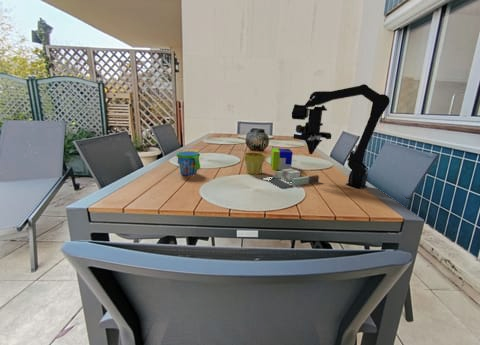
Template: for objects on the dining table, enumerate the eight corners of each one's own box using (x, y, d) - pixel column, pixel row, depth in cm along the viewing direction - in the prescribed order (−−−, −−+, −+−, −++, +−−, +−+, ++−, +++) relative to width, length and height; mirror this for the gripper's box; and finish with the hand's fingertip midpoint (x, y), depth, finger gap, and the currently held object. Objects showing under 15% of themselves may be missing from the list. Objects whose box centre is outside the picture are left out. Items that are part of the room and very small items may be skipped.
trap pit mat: (293, 187, 106) (293, 186, 106) (282, 188, 103) (282, 187, 103) (271, 177, 119) (271, 176, 119) (261, 178, 116) (261, 177, 116)
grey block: (299, 182, 113) (300, 171, 112) (289, 183, 111) (290, 172, 109) (290, 178, 118) (291, 168, 117) (280, 179, 116) (281, 169, 114)
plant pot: (262, 176, 120) (263, 156, 117) (241, 174, 122) (242, 155, 119) (264, 171, 130) (266, 152, 127) (245, 169, 132) (246, 151, 129)
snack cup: (171, 171, 122) (170, 151, 120) (190, 168, 129) (190, 149, 126) (186, 179, 111) (185, 157, 108) (206, 175, 117) (206, 154, 114)
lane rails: (318, 181, 114) (319, 175, 113) (293, 185, 107) (293, 179, 106) (298, 174, 125) (299, 168, 125) (274, 177, 118) (275, 171, 118)
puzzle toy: (290, 170, 134) (292, 152, 131) (272, 169, 134) (273, 151, 131) (287, 166, 143) (289, 149, 141) (270, 165, 143) (271, 148, 141)
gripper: (316, 119, 124) (312, 150, 128) (287, 119, 115) (284, 152, 119) (334, 121, 114) (329, 154, 119) (303, 121, 106) (300, 156, 110)
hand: (310, 154), depth 117 cm, fingers closed
